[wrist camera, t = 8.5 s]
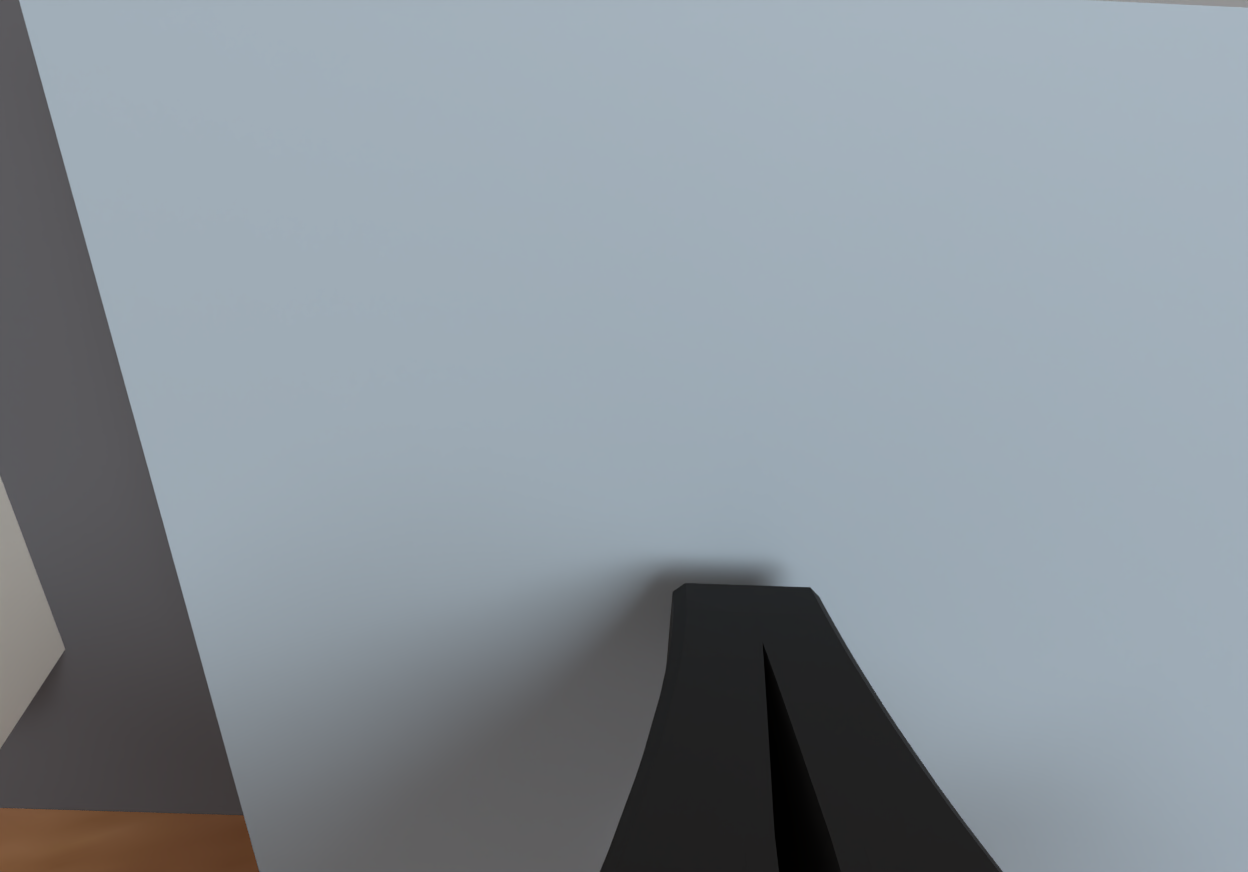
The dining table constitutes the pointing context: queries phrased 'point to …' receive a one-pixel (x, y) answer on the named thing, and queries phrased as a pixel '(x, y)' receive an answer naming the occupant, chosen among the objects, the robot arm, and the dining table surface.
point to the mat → (87, 511)
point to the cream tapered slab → (21, 624)
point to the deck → (684, 392)
